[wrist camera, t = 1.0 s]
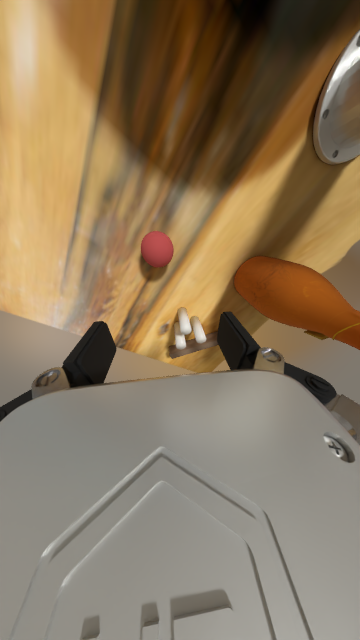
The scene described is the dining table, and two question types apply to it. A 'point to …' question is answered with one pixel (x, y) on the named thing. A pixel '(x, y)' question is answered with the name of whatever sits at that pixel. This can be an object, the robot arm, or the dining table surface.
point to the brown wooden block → (194, 346)
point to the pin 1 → (179, 336)
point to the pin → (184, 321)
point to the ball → (157, 249)
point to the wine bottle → (298, 298)
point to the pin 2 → (198, 330)
